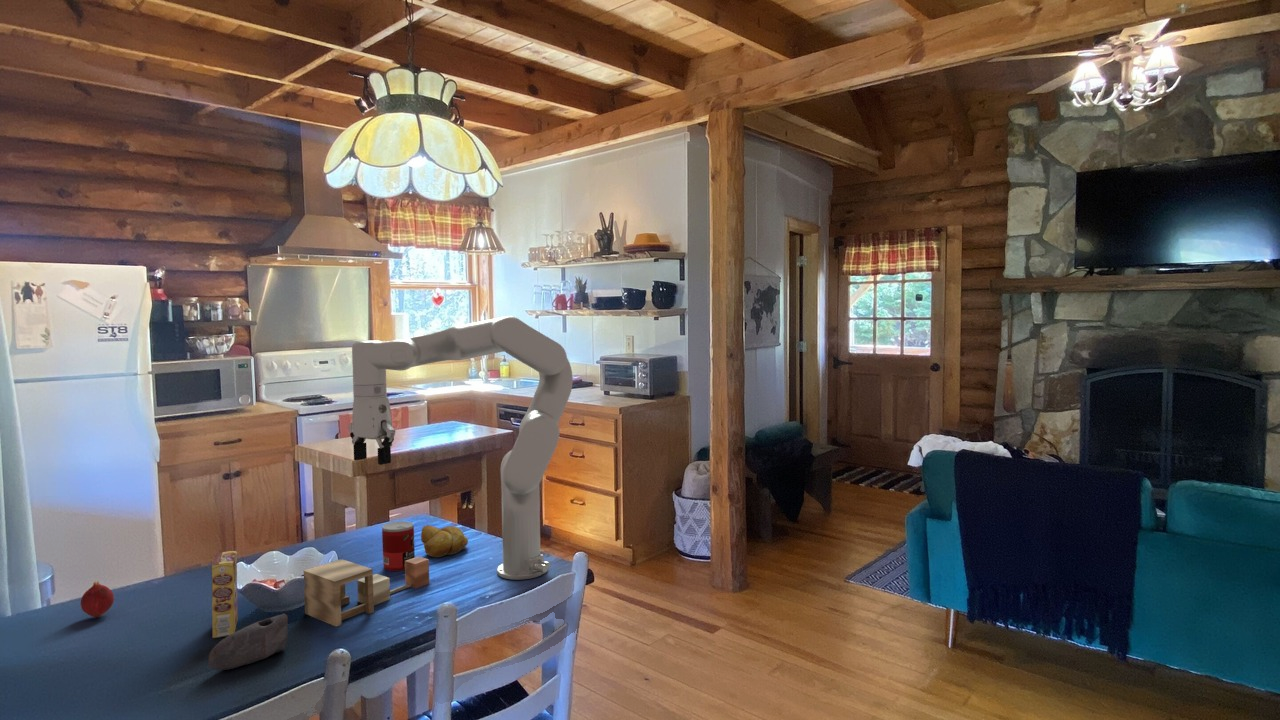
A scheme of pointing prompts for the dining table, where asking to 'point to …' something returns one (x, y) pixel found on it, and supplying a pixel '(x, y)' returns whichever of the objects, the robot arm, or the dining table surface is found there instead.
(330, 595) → the oak shelf cubby
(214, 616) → the candy box
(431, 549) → the bread roll
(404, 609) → the dining table surface
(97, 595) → the red pomegranate
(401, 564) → the canned food
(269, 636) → the perforated stone tool
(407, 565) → the birch block with cord
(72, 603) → the dining table surface
